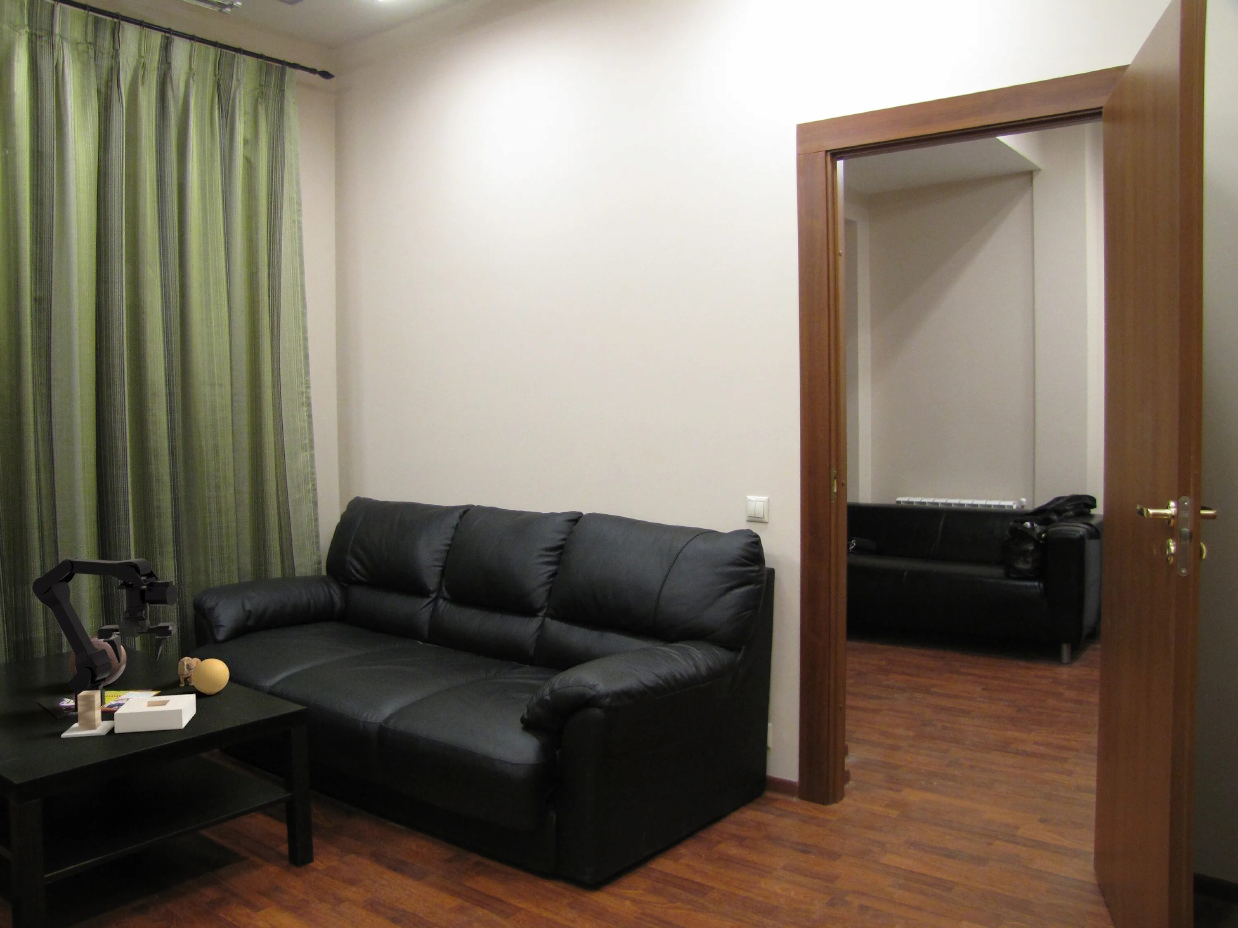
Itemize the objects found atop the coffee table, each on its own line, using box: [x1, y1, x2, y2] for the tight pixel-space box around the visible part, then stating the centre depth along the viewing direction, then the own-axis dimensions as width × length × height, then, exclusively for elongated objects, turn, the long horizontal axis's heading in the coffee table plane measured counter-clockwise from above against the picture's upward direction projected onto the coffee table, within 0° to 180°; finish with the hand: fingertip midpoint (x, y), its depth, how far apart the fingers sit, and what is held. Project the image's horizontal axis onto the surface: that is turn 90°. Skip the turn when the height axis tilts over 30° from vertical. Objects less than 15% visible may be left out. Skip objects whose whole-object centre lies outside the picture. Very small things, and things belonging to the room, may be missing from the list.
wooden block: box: [77, 690, 102, 731], centre depth 241 cm, size 4×4×9 cm
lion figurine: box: [177, 656, 202, 687], centre depth 286 cm, size 15×5×9 cm, turn 11°
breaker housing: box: [113, 693, 197, 734], centre depth 247 cm, size 16×14×5 cm
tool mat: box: [60, 720, 115, 739], centre depth 241 cm, size 10×10×1 cm
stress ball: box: [192, 658, 230, 696], centre depth 274 cm, size 10×10×10 cm
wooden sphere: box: [68, 635, 127, 687], centre depth 283 cm, size 15×15×15 cm
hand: (138, 661), depth 259 cm, fingers open, 9 cm apart
